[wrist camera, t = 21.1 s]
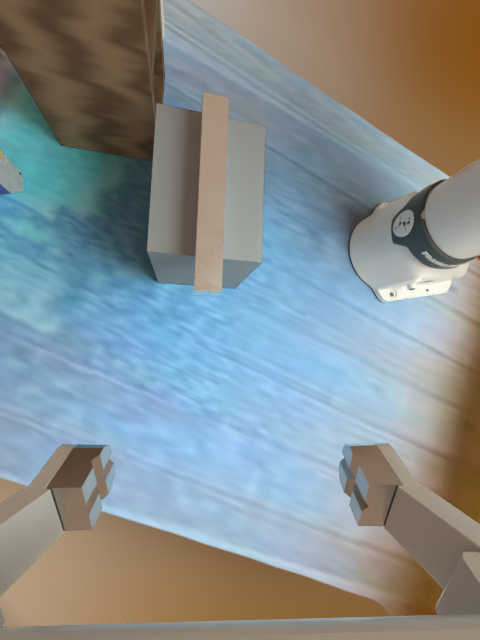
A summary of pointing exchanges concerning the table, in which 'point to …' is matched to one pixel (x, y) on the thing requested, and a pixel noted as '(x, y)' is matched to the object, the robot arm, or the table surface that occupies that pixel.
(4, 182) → the walkman
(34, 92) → the walnut shelf
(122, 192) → the table surface
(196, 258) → the tan bar
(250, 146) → the block
